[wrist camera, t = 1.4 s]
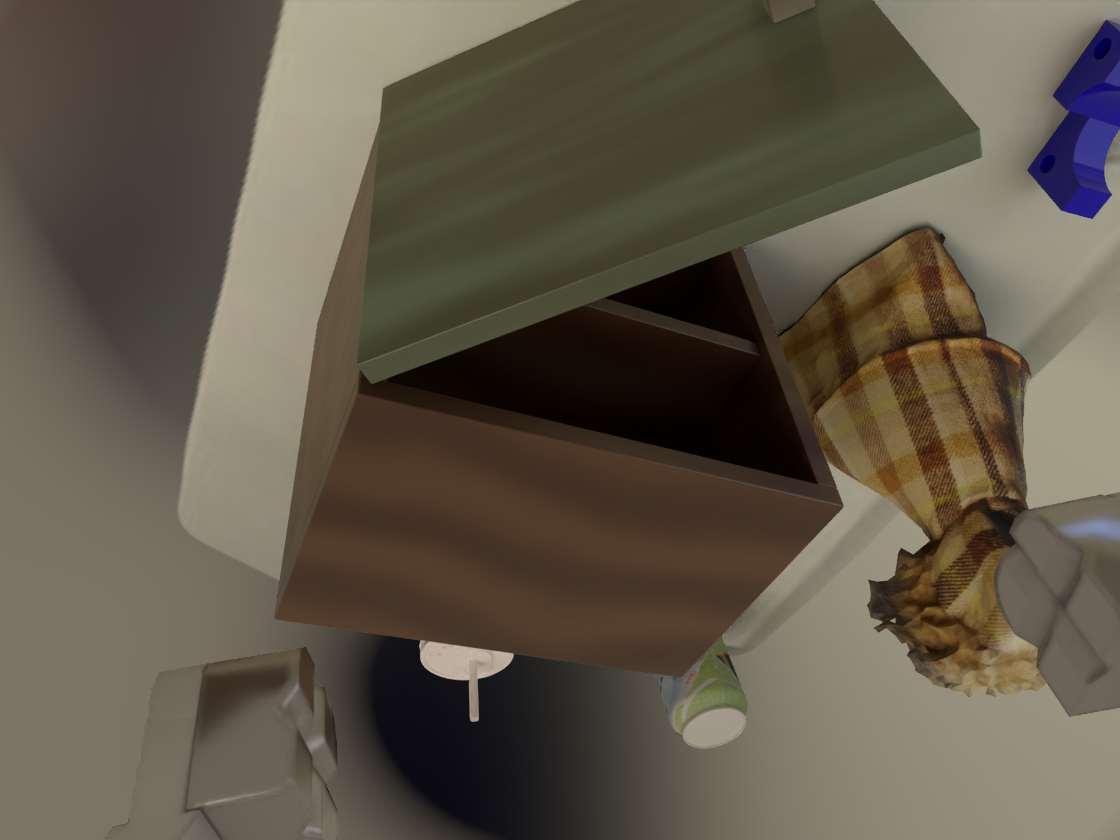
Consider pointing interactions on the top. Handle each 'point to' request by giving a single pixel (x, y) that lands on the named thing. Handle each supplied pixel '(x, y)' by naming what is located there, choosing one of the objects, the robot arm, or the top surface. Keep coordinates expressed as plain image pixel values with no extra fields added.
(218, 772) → the robot arm
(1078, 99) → the cable holder
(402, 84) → the door
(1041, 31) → the top surface
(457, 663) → the smoothie
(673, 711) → the beverage can
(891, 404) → the plaid cloth bag
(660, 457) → the cupboard
